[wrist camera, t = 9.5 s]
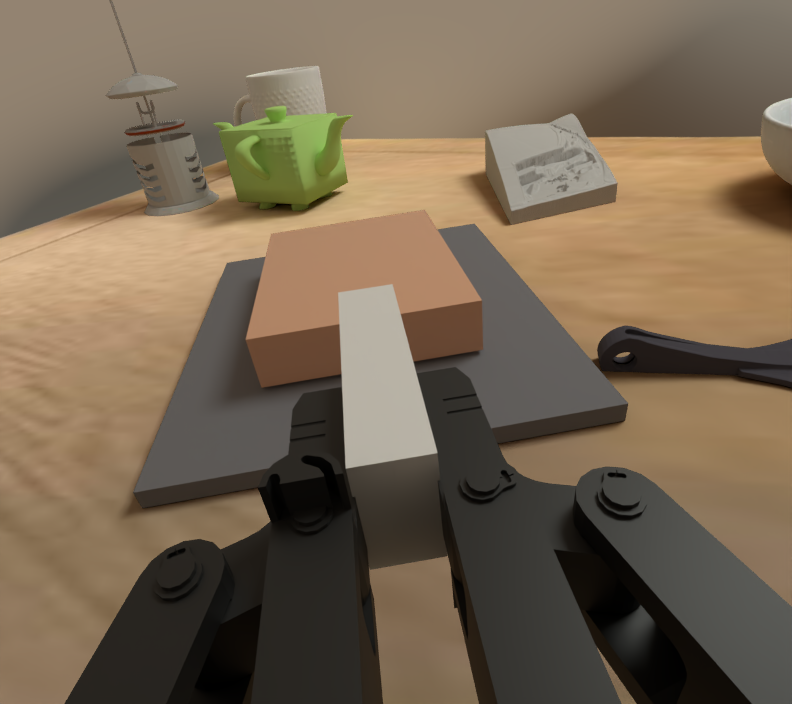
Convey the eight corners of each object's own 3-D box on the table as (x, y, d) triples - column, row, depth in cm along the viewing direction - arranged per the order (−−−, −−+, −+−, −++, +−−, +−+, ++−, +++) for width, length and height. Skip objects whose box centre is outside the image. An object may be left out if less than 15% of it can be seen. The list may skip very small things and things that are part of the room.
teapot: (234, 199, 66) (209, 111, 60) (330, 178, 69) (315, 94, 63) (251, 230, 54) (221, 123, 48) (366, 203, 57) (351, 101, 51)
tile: (483, 353, 27) (428, 249, 40) (482, 300, 25) (424, 209, 38) (262, 391, 26) (281, 272, 40) (245, 339, 24) (271, 233, 38)
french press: (147, 221, 61) (46, -32, 48) (140, 202, 70) (53, -16, 56) (226, 202, 64) (153, -40, 51) (209, 186, 73) (143, -23, 60)
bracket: (584, 309, 33) (588, 271, 31) (852, 310, 29) (871, 266, 28) (615, 475, 21) (624, 427, 20) (1065, 510, 18) (1118, 454, 16)
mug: (234, 176, 77) (208, 82, 70) (257, 160, 86) (236, 75, 79) (327, 167, 75) (309, 69, 68) (341, 151, 84) (326, 63, 77)
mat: (474, 234, 45) (474, 223, 44) (625, 420, 23) (628, 403, 22) (230, 273, 43) (227, 262, 43) (142, 508, 22) (133, 492, 21)
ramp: (609, 233, 42) (617, 168, 39) (436, 227, 49) (432, 170, 46) (627, 154, 63) (633, 107, 60) (504, 157, 69) (504, 115, 66)
